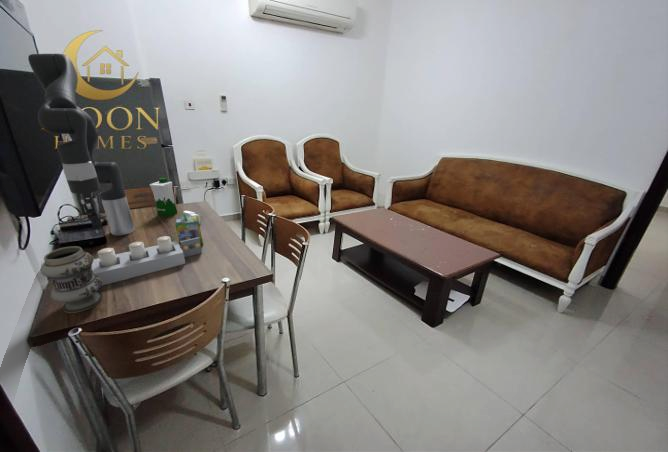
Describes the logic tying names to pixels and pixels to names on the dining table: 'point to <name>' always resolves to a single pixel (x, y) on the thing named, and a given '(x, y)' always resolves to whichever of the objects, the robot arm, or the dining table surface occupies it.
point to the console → (138, 264)
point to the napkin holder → (192, 215)
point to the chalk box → (188, 228)
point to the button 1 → (107, 257)
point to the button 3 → (164, 244)
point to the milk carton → (164, 197)
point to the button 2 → (137, 250)
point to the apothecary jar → (72, 278)
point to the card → (191, 247)
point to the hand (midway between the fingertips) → (97, 226)
